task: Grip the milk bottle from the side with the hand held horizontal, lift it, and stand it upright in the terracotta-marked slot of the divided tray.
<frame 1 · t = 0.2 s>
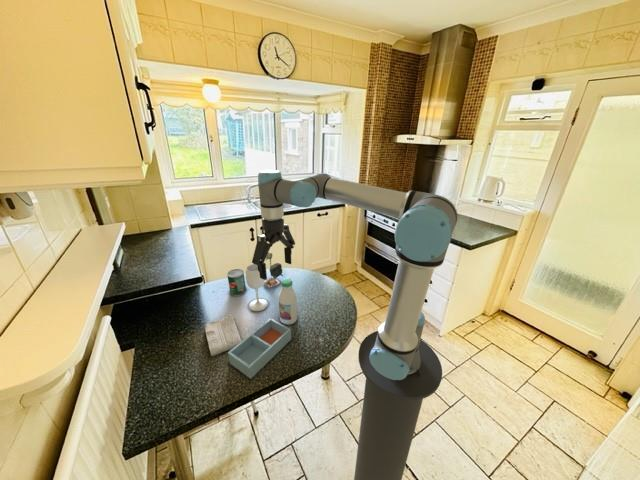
hand: (276, 270, 96), 28 cm above the table, tool pointing down, fingers open, 13 cm apart
washcloth: (223, 337, 104), on the table
wineglass: (258, 305, 122), on the table
milk bottle: (288, 319, 113), on the table
canned tomato: (238, 291, 132), on the table
divided tray: (262, 350, 98), on the table
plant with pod: (274, 283, 139), on the table
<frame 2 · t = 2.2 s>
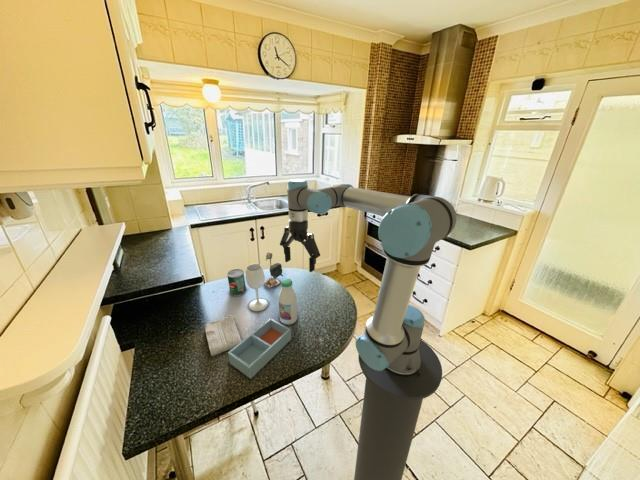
hand: (299, 265, 110), 23 cm above the table, tool pointing down, fingers open, 13 cm apart
nothing on the table moved.
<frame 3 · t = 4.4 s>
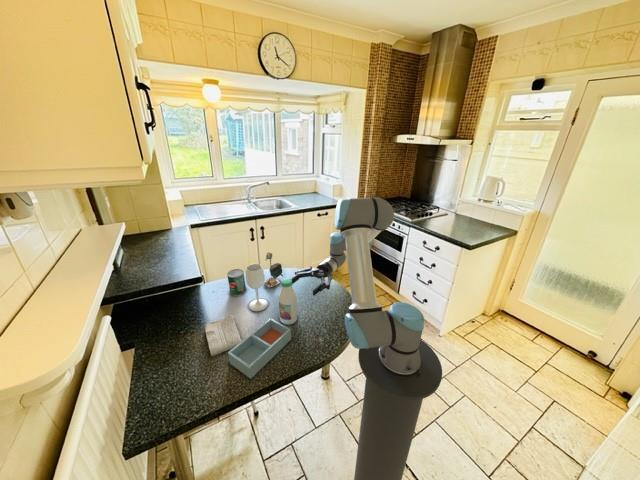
hand: (301, 287, 116), 11 cm above the table, tool horizontal, fingers open, 13 cm apart
nothing on the table moved.
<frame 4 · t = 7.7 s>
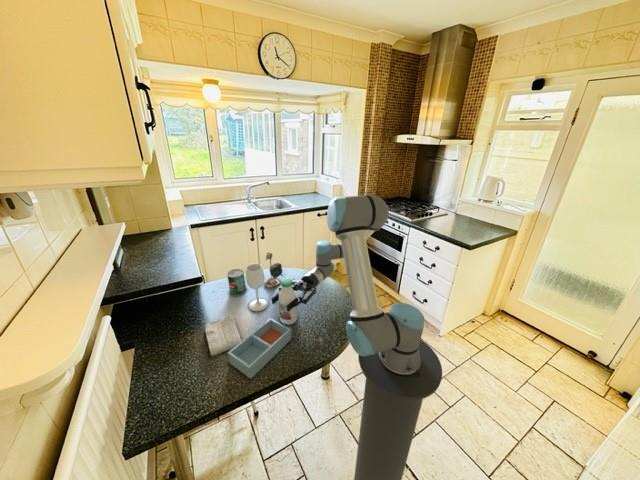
hand: (279, 304, 105), 11 cm above the table, tool horizontal, fingers closed on milk bottle, 8 cm apart
milk bottle: (288, 319, 113), on the table, touching gripper
everything else where it was.
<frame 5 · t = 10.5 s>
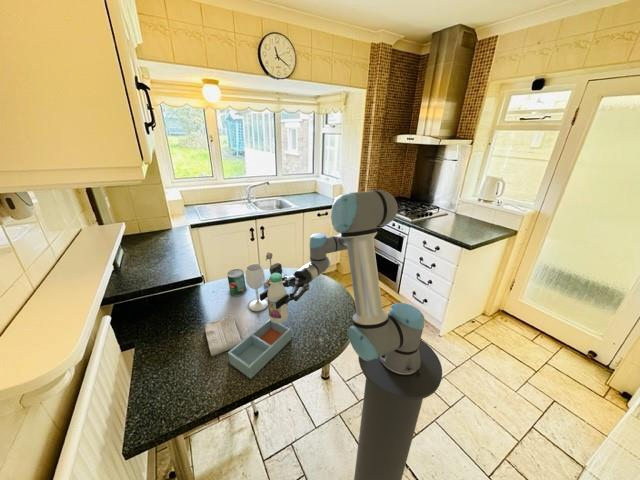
hand: (268, 301, 96), 18 cm above the table, tool horizontal, fingers closed on milk bottle, 8 cm apart
milk bottle: (279, 317, 104), point 7 cm above the table, touching gripper
everything else where it was.
when the fingers open (12 cm above the table, at t = 13.6 s): milk bottle stays where it is, resting on divided tray.
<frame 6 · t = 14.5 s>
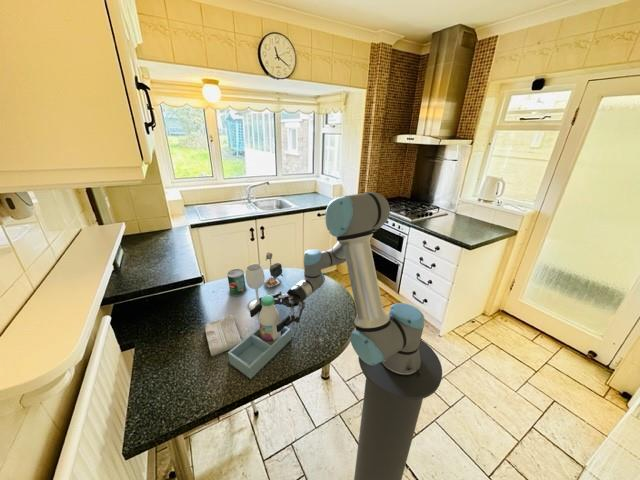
hand: (263, 321, 94), 13 cm above the table, tool horizontal, fingers open, 13 cm apart
milk bottle: (271, 340, 101), point 1 cm above the table, touching divided tray
everything else where it was.
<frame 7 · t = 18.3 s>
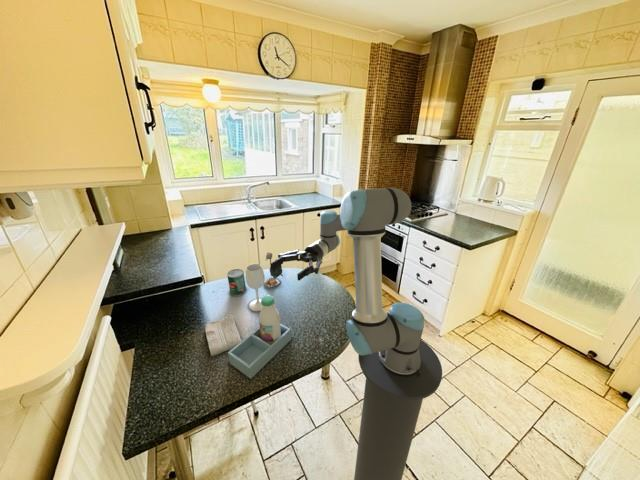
hand: (284, 271, 97), 28 cm above the table, tool horizontal, fingers open, 13 cm apart
nothing on the table moved.
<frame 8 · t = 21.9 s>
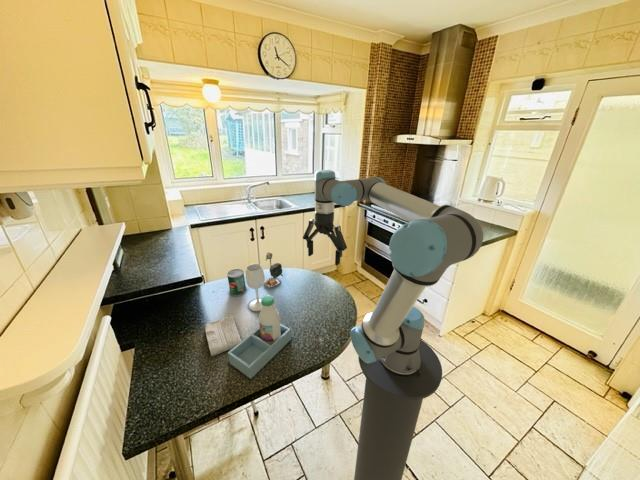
hand: (323, 259, 108), 27 cm above the table, tool pointing down, fingers open, 13 cm apart
nothing on the table moved.
at the end: milk bottle 0.1 cm from the target spot in the divided tray, point 0.8 cm above the divided tray's base; milk bottle tilted 0°; the gripper is holding nothing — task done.
